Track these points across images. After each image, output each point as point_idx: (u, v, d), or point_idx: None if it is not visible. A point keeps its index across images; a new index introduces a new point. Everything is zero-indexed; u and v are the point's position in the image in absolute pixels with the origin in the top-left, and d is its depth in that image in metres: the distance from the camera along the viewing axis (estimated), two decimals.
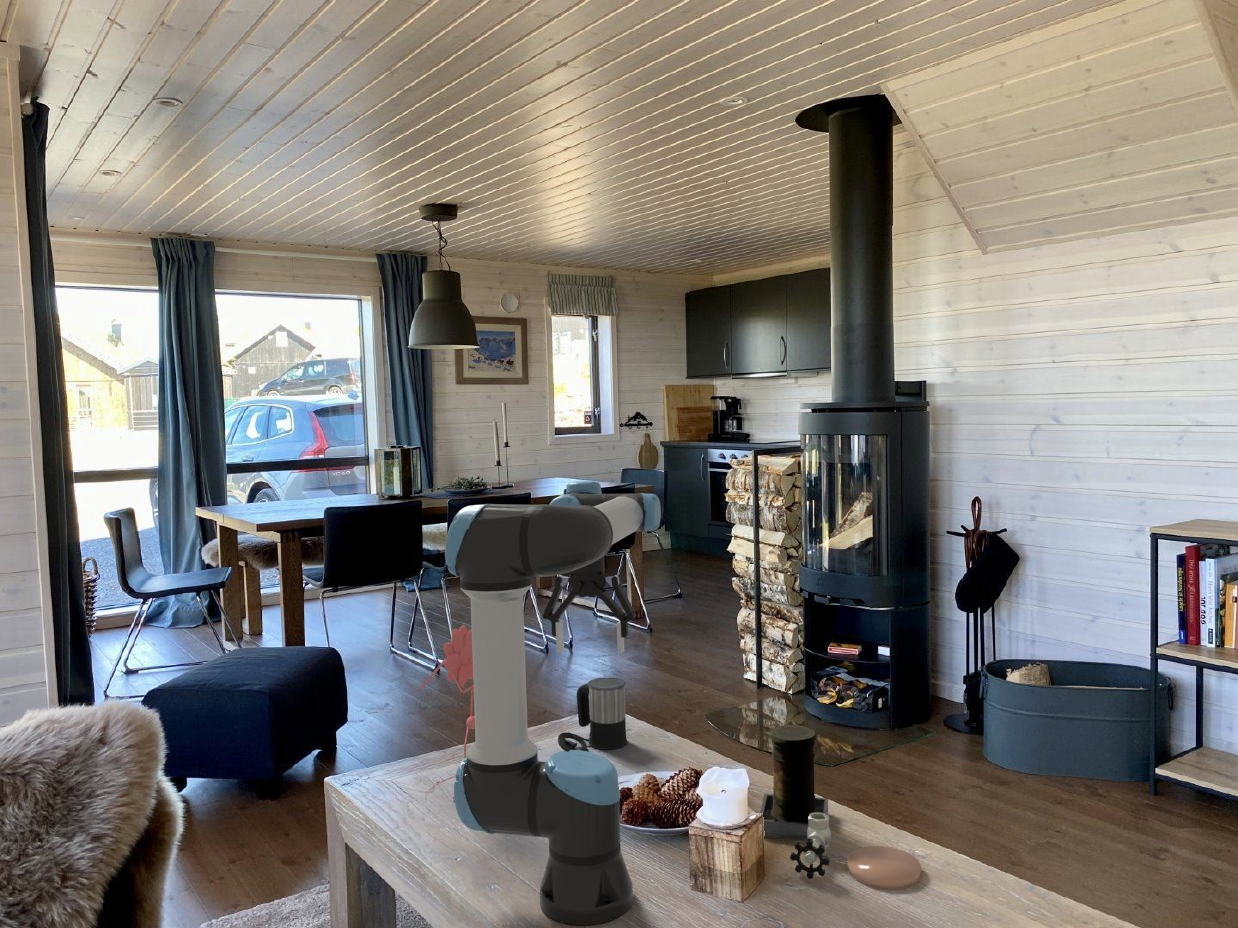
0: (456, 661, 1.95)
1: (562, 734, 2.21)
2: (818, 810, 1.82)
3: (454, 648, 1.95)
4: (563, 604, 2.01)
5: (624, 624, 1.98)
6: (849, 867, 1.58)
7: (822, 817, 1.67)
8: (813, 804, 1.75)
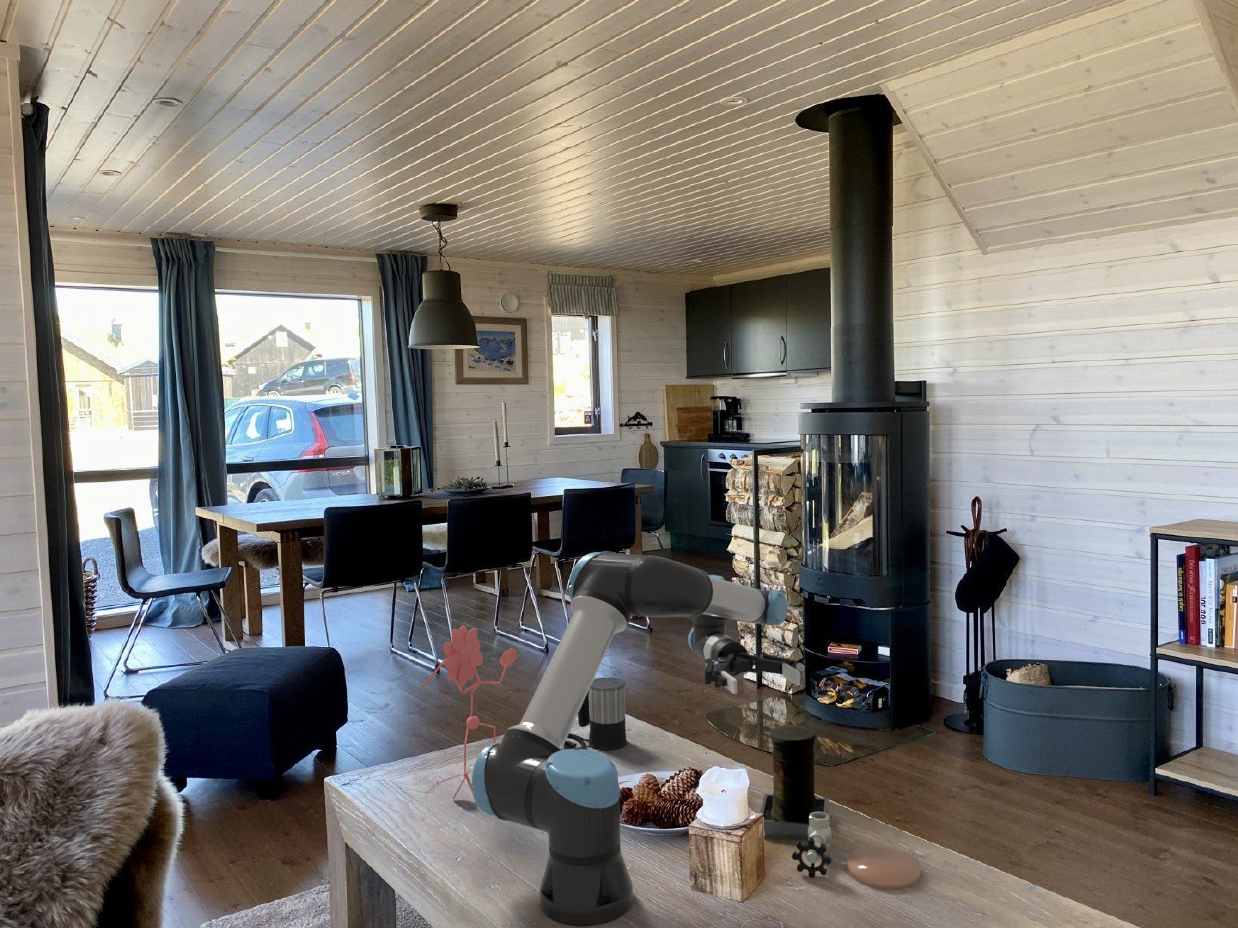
0: (456, 661, 1.95)
1: None
2: (818, 810, 1.82)
3: (454, 648, 1.95)
4: (722, 665, 1.94)
5: (789, 666, 1.93)
6: (849, 867, 1.58)
7: (823, 816, 1.68)
8: (813, 804, 1.75)
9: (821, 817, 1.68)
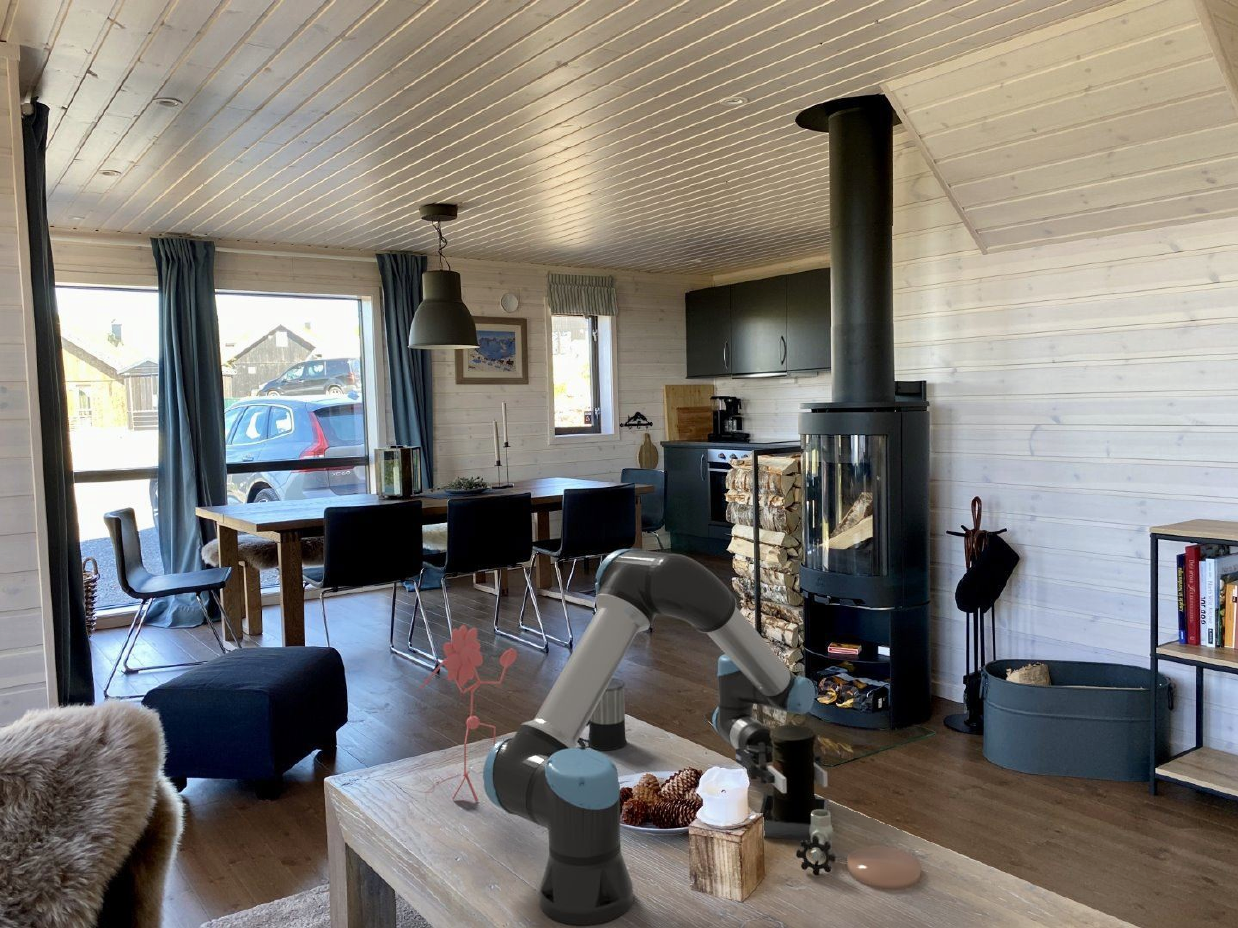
0: (456, 661, 1.95)
1: None
2: None
3: (454, 648, 1.95)
4: (761, 757, 1.82)
5: (815, 763, 1.79)
6: (849, 867, 1.58)
7: (824, 813, 1.68)
8: (813, 804, 1.75)
9: (822, 815, 1.69)
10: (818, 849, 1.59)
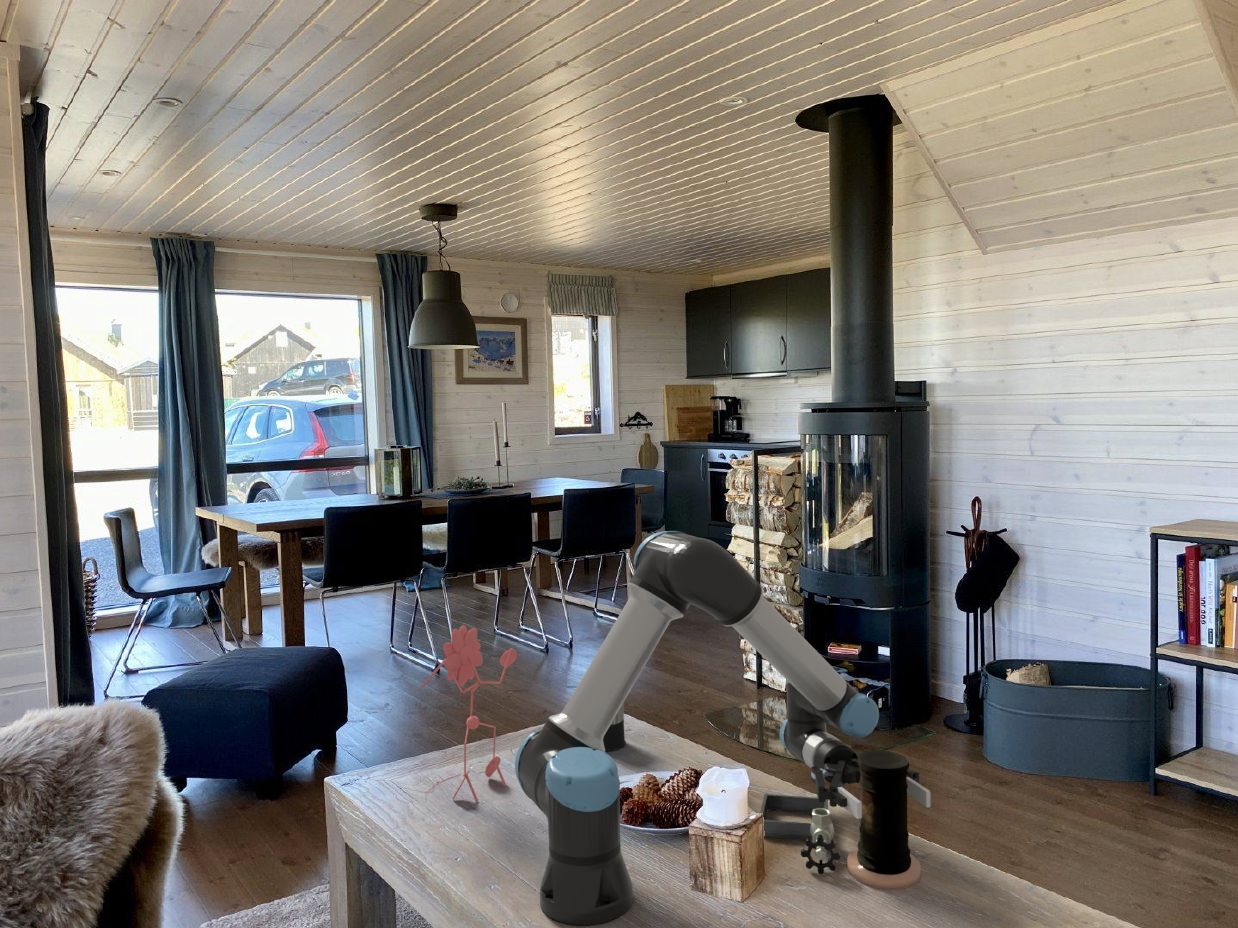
0: (456, 661, 1.95)
1: None
2: None
3: (454, 648, 1.95)
4: (835, 778, 1.63)
5: (913, 780, 1.63)
6: (849, 867, 1.58)
7: (825, 812, 1.69)
8: (906, 840, 1.56)
9: (823, 813, 1.69)
10: (822, 848, 1.59)
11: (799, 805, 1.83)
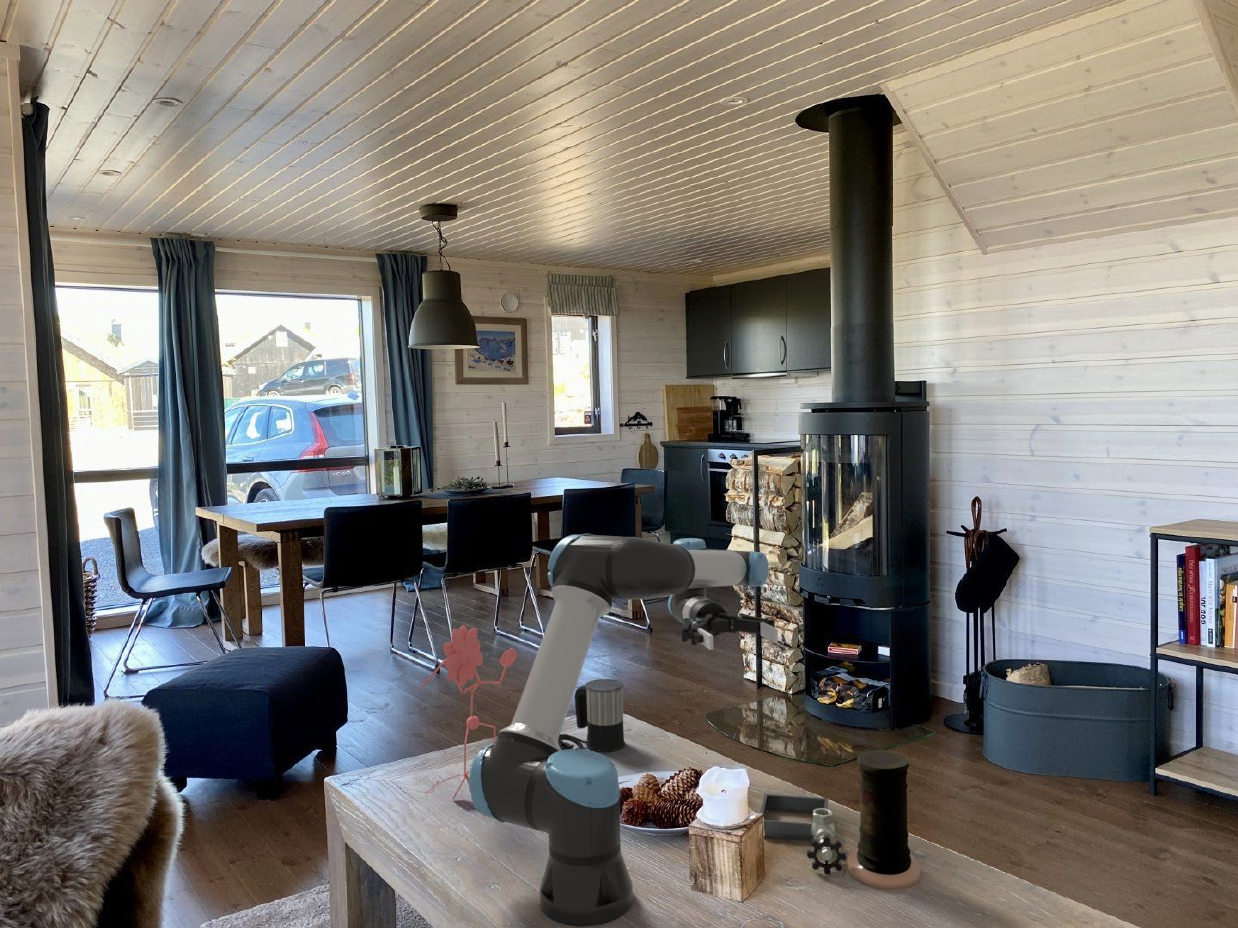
0: (456, 661, 1.95)
1: (559, 736, 2.20)
2: None
3: (454, 648, 1.95)
4: (699, 624, 1.91)
5: None
6: (849, 867, 1.58)
7: (825, 812, 1.69)
8: (906, 840, 1.56)
9: (823, 813, 1.69)
10: (828, 848, 1.59)
11: (799, 805, 1.83)
